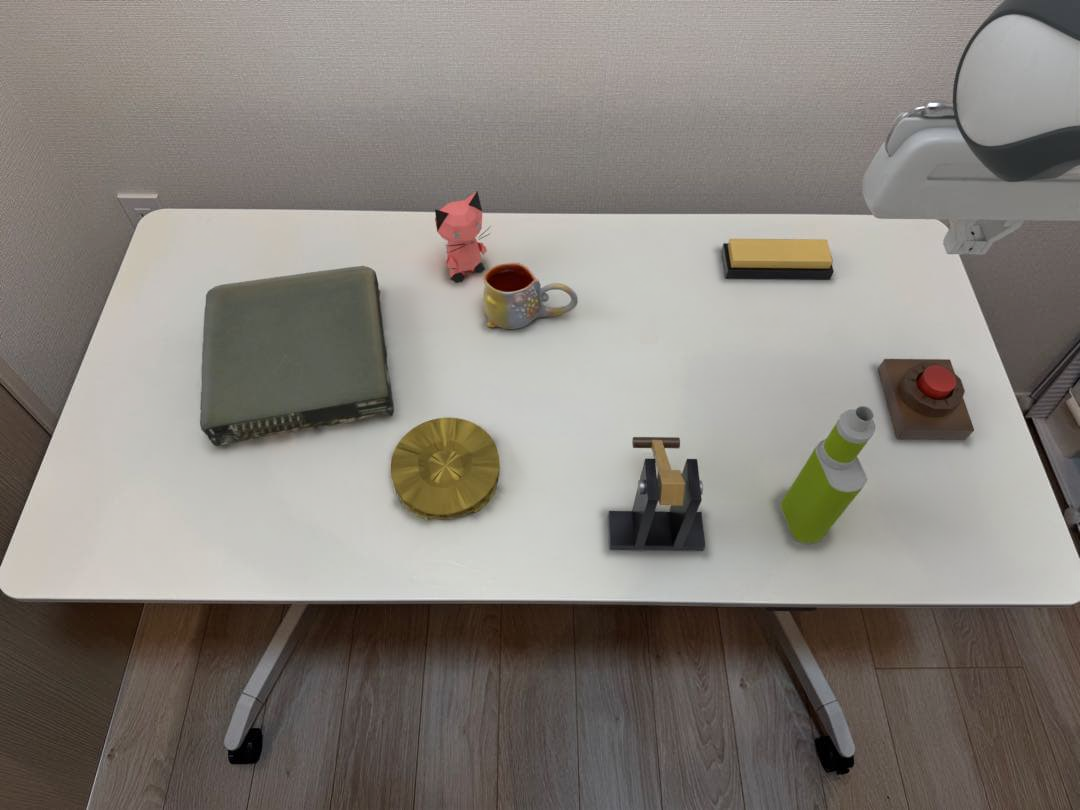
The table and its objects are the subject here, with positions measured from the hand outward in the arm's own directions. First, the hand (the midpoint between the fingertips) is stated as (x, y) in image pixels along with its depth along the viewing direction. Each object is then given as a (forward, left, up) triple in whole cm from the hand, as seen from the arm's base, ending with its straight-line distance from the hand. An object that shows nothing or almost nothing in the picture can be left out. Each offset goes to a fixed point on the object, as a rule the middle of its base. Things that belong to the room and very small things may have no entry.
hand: (962, 248), depth 63 cm
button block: (+5, -11, -31) cm, 33 cm away
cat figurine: (+26, +45, -31) cm, 61 cm away
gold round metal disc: (-5, +45, -31) cm, 55 cm away
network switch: (+10, +64, -31) cm, 72 cm away
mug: (+18, +36, -31) cm, 51 cm away
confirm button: (+5, -11, -28) cm, 30 cm away
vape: (-10, +6, -31) cm, 33 cm away
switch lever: (-9, +22, -24) cm, 34 cm away
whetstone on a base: (+27, +3, -31) cm, 41 cm away
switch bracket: (-12, +22, -31) cm, 40 cm away
